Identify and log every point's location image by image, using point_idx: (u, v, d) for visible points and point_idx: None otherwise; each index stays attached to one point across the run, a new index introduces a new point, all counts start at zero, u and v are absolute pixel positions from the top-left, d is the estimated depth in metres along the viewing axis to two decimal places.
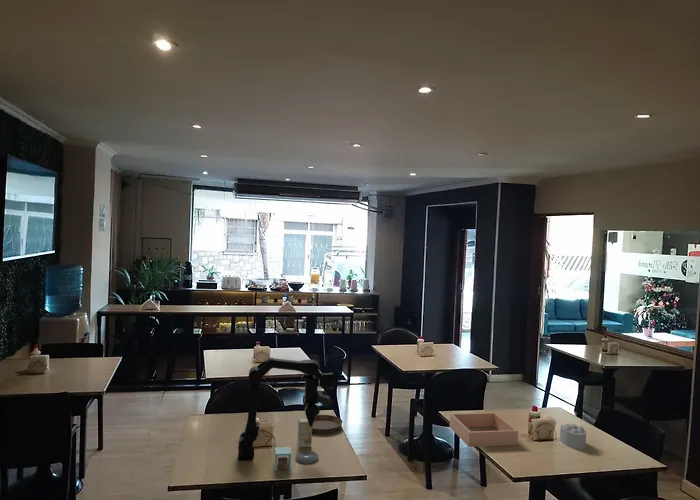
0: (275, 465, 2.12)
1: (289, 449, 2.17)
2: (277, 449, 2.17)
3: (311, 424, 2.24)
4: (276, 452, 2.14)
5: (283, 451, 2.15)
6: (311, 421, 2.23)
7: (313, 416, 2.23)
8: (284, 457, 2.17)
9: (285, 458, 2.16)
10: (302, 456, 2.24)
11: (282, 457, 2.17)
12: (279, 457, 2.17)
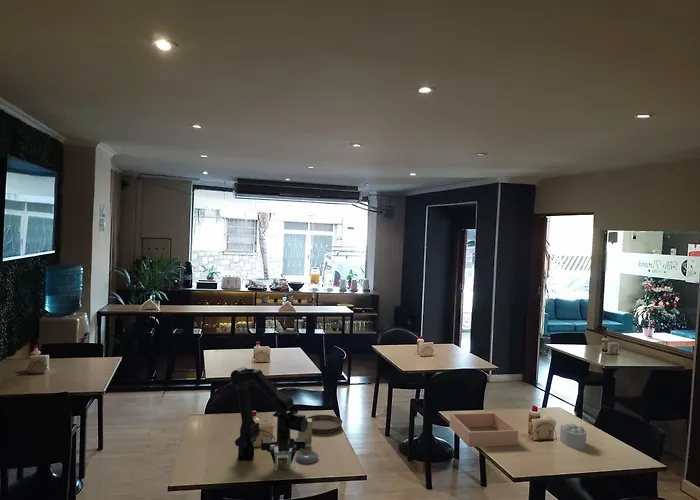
0: (275, 465, 2.12)
1: None
2: (277, 449, 2.17)
3: (273, 461, 2.15)
4: (276, 452, 2.14)
5: None
6: (272, 457, 2.15)
7: None
8: (284, 457, 2.17)
9: (285, 458, 2.16)
10: (302, 456, 2.24)
11: (282, 457, 2.17)
12: (279, 457, 2.17)
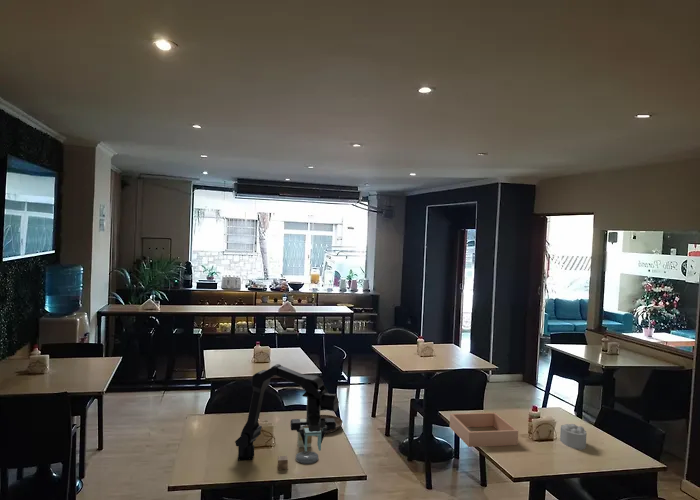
0: (305, 445, 2.09)
1: None
2: (307, 429, 2.14)
3: (303, 441, 2.12)
4: (306, 432, 2.11)
5: (313, 431, 2.12)
6: (302, 438, 2.12)
7: None
8: (284, 457, 2.17)
9: (285, 458, 2.16)
10: (302, 456, 2.24)
11: (282, 457, 2.17)
12: (279, 457, 2.17)
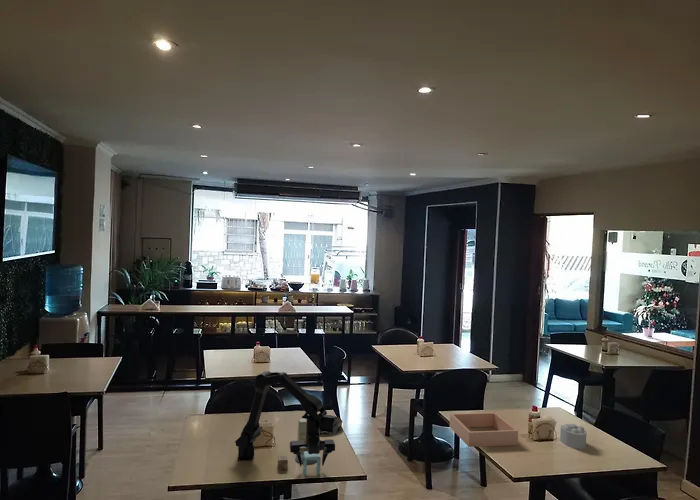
0: (304, 469, 2.10)
1: None
2: (306, 453, 2.14)
3: None
4: (305, 456, 2.11)
5: (312, 455, 2.13)
6: None
7: None
8: (284, 457, 2.17)
9: (285, 458, 2.16)
10: (302, 456, 2.24)
11: (282, 457, 2.17)
12: (279, 457, 2.17)
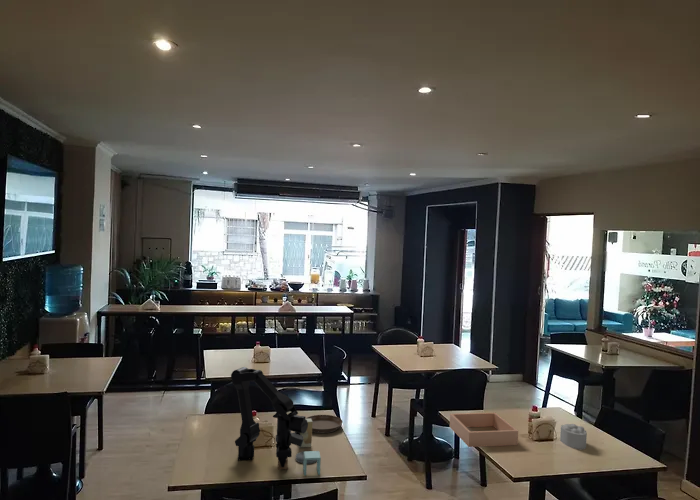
0: (304, 469, 2.10)
1: (318, 453, 2.14)
2: (306, 453, 2.14)
3: (283, 464, 2.14)
4: (305, 456, 2.11)
5: (312, 455, 2.13)
6: (283, 461, 2.13)
7: (285, 456, 2.13)
8: None
9: None
10: (302, 456, 2.24)
11: None
12: None
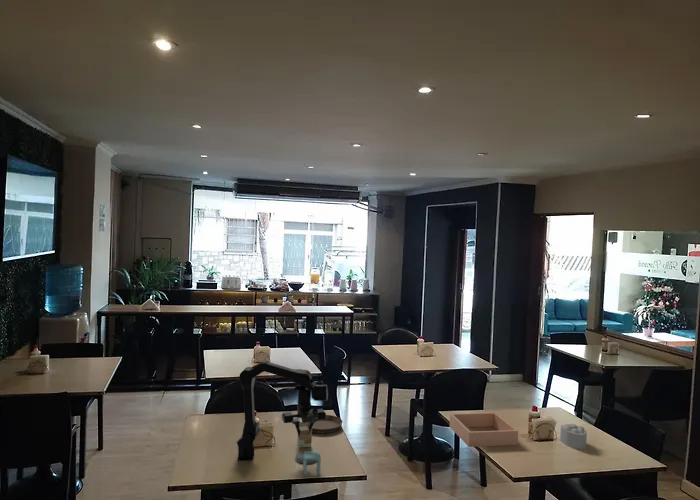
0: (304, 469, 2.10)
1: (318, 453, 2.14)
2: (306, 453, 2.14)
3: None
4: (305, 456, 2.11)
5: (312, 455, 2.13)
6: (296, 429, 2.21)
7: None
8: (305, 428, 2.22)
9: (303, 429, 2.21)
10: (302, 456, 2.24)
11: (305, 428, 2.23)
12: (304, 427, 2.24)
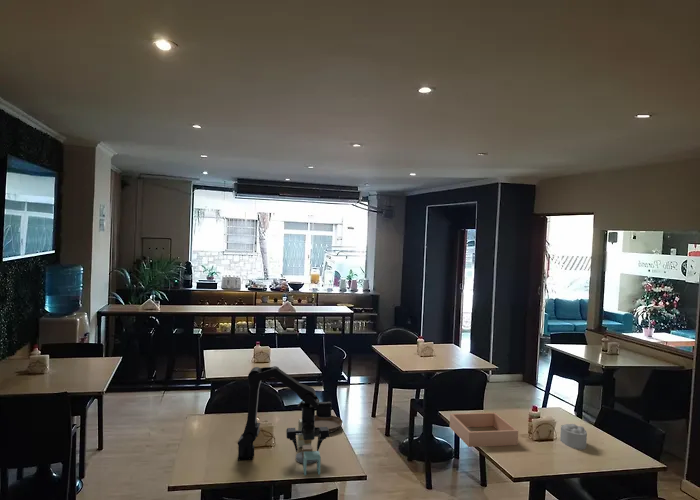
0: (304, 469, 2.10)
1: (318, 453, 2.14)
2: (306, 453, 2.14)
3: None
4: (305, 456, 2.11)
5: (312, 455, 2.13)
6: None
7: None
8: (309, 447, 2.24)
9: (306, 448, 2.24)
10: (302, 456, 2.24)
11: (308, 447, 2.25)
12: (308, 445, 2.26)
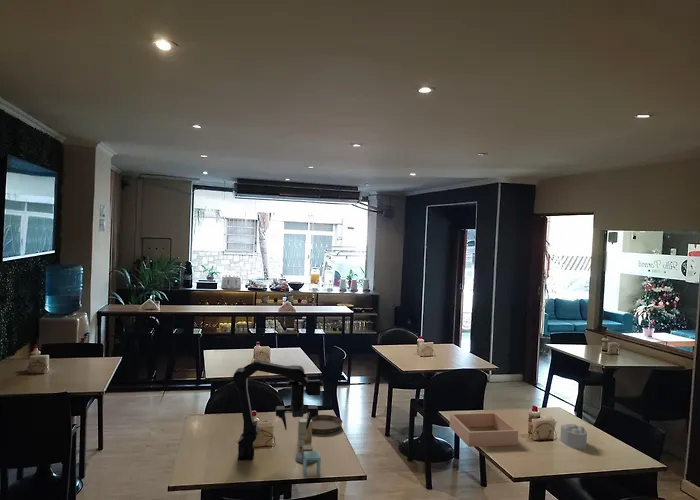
0: (304, 469, 2.10)
1: (318, 453, 2.14)
2: (306, 453, 2.14)
3: None
4: (305, 456, 2.11)
5: (312, 455, 2.13)
6: None
7: None
8: (309, 447, 2.24)
9: (306, 448, 2.24)
10: (302, 456, 2.24)
11: (308, 447, 2.25)
12: (308, 445, 2.26)
